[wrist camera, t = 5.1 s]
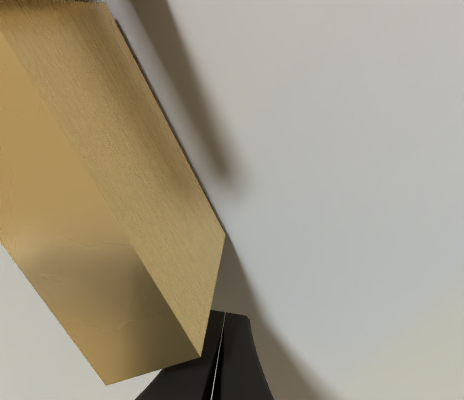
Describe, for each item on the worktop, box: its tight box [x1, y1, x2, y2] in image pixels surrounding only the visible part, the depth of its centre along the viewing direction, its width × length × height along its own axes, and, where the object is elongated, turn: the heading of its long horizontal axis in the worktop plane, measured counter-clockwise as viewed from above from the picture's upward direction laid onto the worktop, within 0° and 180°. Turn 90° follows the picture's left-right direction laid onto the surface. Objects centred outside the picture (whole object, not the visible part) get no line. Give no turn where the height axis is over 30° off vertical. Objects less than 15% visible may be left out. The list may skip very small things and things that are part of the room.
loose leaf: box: [0, 0, 226, 385], centre depth 9 cm, size 11×5×5 cm, turn 25°
